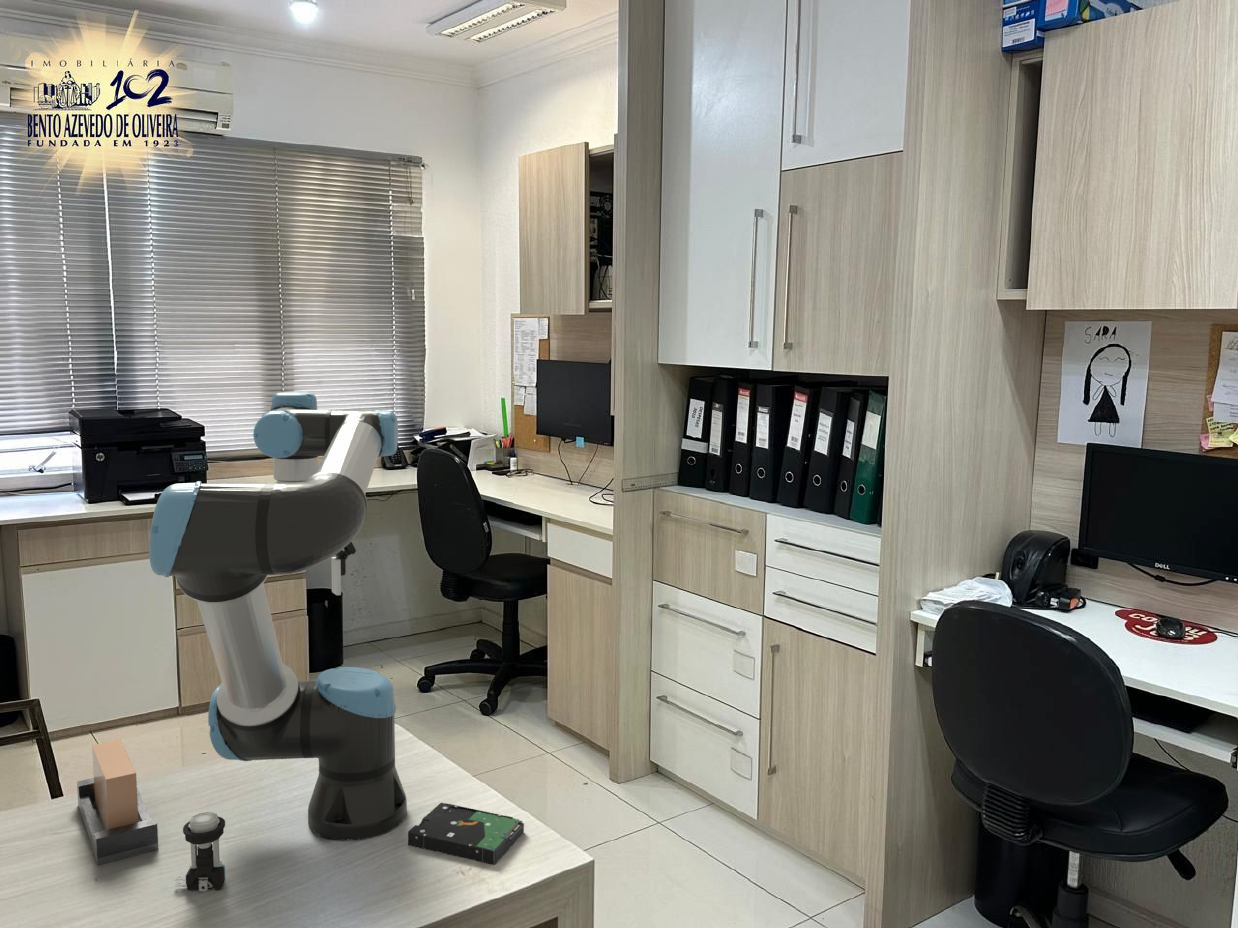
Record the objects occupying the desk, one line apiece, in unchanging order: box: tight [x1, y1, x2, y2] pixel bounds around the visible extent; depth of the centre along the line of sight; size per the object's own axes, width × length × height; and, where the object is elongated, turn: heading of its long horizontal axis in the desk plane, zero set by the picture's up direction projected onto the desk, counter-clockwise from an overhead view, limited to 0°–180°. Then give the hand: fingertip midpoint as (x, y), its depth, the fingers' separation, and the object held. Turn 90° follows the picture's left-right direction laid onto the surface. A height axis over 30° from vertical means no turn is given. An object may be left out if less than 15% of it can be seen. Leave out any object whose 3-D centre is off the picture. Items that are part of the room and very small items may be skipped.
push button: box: [174, 811, 227, 893], centre depth 134 cm, size 7×5×10 cm
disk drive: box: [407, 802, 525, 865], centre depth 149 cm, size 10×3×15 cm
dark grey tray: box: [76, 777, 159, 866], centre depth 150 cm, size 21×8×4 cm, turn 35°
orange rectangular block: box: [91, 738, 138, 831], centre depth 149 cm, size 14×4×10 cm, turn 35°
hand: (298, 598), depth 174 cm, fingers open, 13 cm apart
